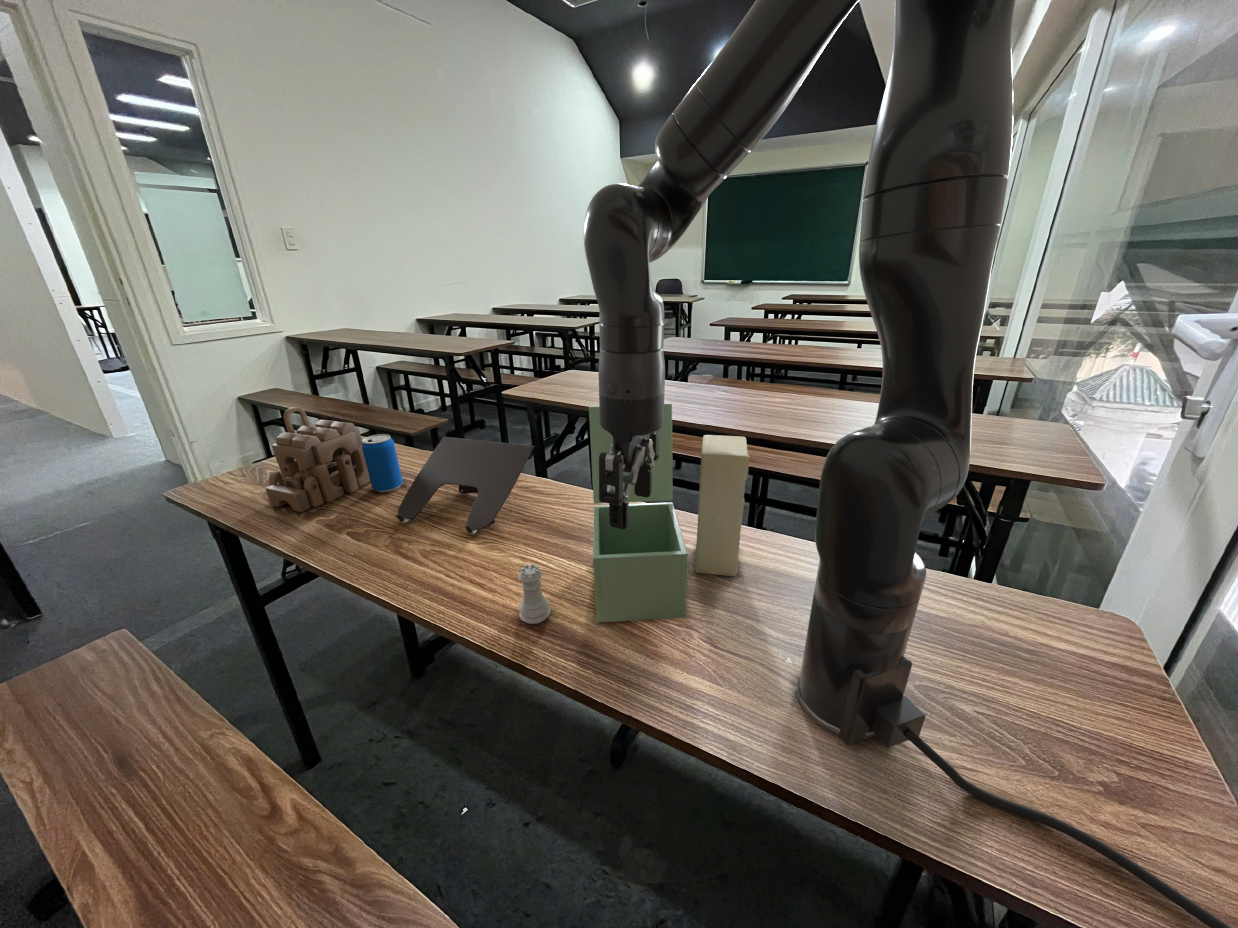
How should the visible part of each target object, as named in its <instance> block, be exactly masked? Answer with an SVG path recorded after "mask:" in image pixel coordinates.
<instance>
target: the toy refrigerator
mask: <svg viewBox="0 0 1238 928" xmlns="http://www.w3.org/2000/svg"><path fill="white" fill-rule="evenodd" d="M750 457H751V456H750V454H748V444H747V438H746V437H745V436H739V435H716V434H704V435H703V437H702V446H701V456H700V474H699V491H698V492H699V493H698V509H697V513H698V514H697V526H696V527H697V529H696V544H695V545H696V546H695V547H696V548H695V564H694V565H695V566H694V572H695V573H698V574H707V575H709V574H710V575H717V576H726V577H736V576H737V573H738V563H739V551H740V542H741V531H742V522H743V518H744V516H743V515H744V510H745V509H744V508H745V488H746V480H748V478H749V477H748V476H749V470H750V469H749V467H750Z"/></svg>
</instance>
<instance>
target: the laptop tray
mask: <svg viewBox="0 0 1238 928" xmlns="http://www.w3.org/2000/svg"><path fill="white" fill-rule="evenodd" d="M534 448H535V445H530V444H518V443H510V442H509V443H508V442H499V441H490V440H480V439H469V438H460V437H459V438H458V437H450V436H443V437H442V438H441V440H440V441H439V442H438V444H437V445H436V447H435V448H434V450H433V451H432V453H431V454H430V456H429V457H428V458H427V460H426V461H425V463H424V464H423V465H422V468H421V469H420V470H419V472H418V474H417V475H416V477H415V478H414V480H413V482H412V483H411V485H410V486H409V488H408V490H407V492H406V493H405V495H404V497H403V499H402V500H401V503H400V504H399V506H398V509H397V514H396V516H395V517H396V518H397V520H399V522H401V524H407V523H408V522H409V521H410V520H414V519H415V518H416V517H417V516H418V515H419V514H420V512H421V511H422V510H423V509H424V508H425V507H426V505H427V504H428V503H429V502H430V500H431V499H432V498H433V496H434V495H435V494H436V492H437V491H438V490H439V489H440V488H441V487H442V486H445V485H454V486H458V492H459V493H460V494H461V495H469V494H477V495H476V497H475V499H474V502H473V504H472V506H471V509H470V512H469V515H468V518H467V520H466V524H465V525H464V529H465V530H466V531H467V532H468V534H469V535H471V536H474V535H475V534H476V533H477V531H479V530H484V529H486V528H489V527H491V526H492V525H494V524H495V522H496V521H495V520H494V519H495V518H496V517H497V515H498V514H499V512H500V511H501V509H502V508H503V506H504V504H505V503H506V501H507V499H508V498H509V496H510V494H511V493H512V491H513V489H514V487H515V485H516V483H517V481H518V480H519V477H520V476H521V473H522V472H523V470H524V468H525V466H526V464H527V462H528V460H529V458H530V456H531V453H532V451H533V449H534Z"/></svg>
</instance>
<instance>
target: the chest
mask: <svg viewBox="0 0 1238 928" xmlns="http://www.w3.org/2000/svg"><path fill="white" fill-rule="evenodd" d="M628 510H629V524H628V526H627V527H626V529H619V528H614V527H612V526H611V525H610V522H609V504H603V505H601V504H600V505H594V506H593V534H592V535H593V537H592V538H593V540H592V542H593V543H592V563H593V565H592V566H593V580H594V582H593V583H594V598H595V600H594V601H595V614H596V623H613V622H632V621H633V622H634V621H635V622H636V621H651V620H652V621H653V620H672V619H673V620H674V619H686V617H687V594H688V593H687V591H688V567H689V565H688V564H689V552H688V549H687V546H686V543H685V540H684V537H683V533H682V530H681V527H680V523H679V519H678V516H677V513H676V509H675V507H674V503H673V502H670V501H668V502H650V503H649V502H648V503H628Z"/></svg>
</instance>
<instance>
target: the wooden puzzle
mask: <svg viewBox="0 0 1238 928" xmlns="http://www.w3.org/2000/svg"><path fill="white" fill-rule="evenodd" d="M296 412H298V413H299V416H300V420H301V422H302V425H301V426H300V427H299V428H298V429H297V430H296V433H295V430H294V427H293V423H292V420H291V414H293V413H296ZM283 421H284V424H285V427H286V431H285V432H284V431H282V432H280V434H278V435H277V436H276V438H275V440H276V441H275V443H273V444H271V449H272V452H273V454H274V457H275V460H276V462H277V464H278V468H279V471H277V470H273V471H272V472H271V473H270V474H269V477H268V484H269V486H267V487H265V488H264V489H265V492H266V495H267V498H268V500H269V503H270V505H271V506H273V507H277V508H280V507H282V506H285V505H287V504H289V506H290V507H291V509H292V511H295V512H300V513H304V512H306V511H307V510H309V509H311V507H312V508H317V507H319V506H321V505H324V504H325V503H330V502H332V501H334V500H336V499H338V498H339V497H341V496H344V495H345V492H347V493H353V492H356V491H358V490H359V489H360V487H362V486H364V485H366V484H368V483H371V481H370V477H369V474H368V470H367V466H366V462H365V458H364V454H363V450H362V444H363V442H362V440H363V439H362V435H361V432H360V428H357V427H356V426H355V424H354V423H352V422H346V421H345V422H344V421H337V420H329V419H319V420H318V421H317V422H316V423H315V424H314V426H313V425H310V422H309V419H308V416H307V413H306V411H305V410H304V409H303V408H302V407H299V406H292V407H289V408H287V409H285V411H284V413H283Z"/></svg>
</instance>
